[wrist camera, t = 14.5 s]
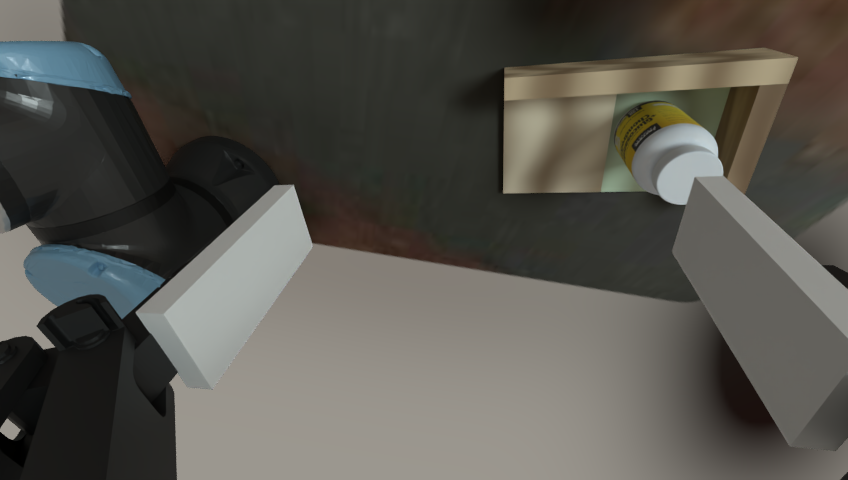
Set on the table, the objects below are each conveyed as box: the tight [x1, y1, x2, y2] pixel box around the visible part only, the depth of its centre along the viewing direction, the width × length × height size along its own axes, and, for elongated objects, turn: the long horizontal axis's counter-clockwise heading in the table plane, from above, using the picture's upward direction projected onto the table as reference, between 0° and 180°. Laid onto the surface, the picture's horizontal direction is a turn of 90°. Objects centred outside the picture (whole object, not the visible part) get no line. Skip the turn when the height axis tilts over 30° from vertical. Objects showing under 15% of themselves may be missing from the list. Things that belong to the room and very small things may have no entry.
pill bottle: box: [614, 100, 723, 205], centre depth 35 cm, size 6×6×12 cm
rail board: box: [503, 48, 798, 195], centre depth 39 cm, size 23×14×5 cm, turn 96°
